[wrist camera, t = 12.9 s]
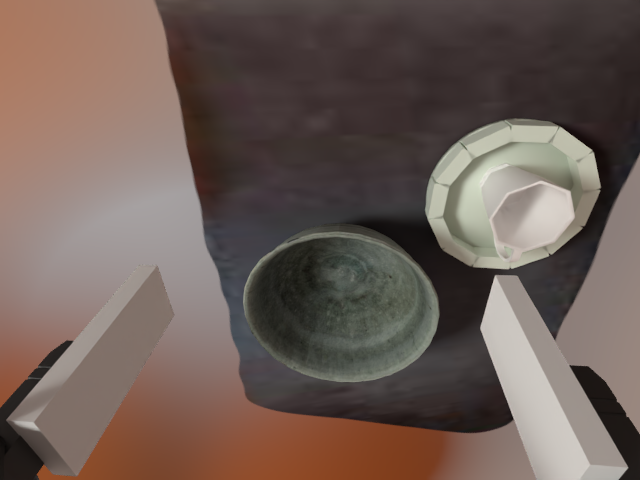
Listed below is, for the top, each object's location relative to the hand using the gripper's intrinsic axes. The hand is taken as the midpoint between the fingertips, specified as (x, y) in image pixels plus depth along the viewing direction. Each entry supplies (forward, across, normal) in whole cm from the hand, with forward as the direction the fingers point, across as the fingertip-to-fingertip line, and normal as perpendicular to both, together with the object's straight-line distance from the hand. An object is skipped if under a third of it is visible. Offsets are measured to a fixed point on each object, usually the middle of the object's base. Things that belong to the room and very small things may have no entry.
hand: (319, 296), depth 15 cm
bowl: (+27, 0, -18) cm, 33 cm away
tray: (+27, +17, -8) cm, 33 cm away
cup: (+26, +16, -8) cm, 32 cm away
